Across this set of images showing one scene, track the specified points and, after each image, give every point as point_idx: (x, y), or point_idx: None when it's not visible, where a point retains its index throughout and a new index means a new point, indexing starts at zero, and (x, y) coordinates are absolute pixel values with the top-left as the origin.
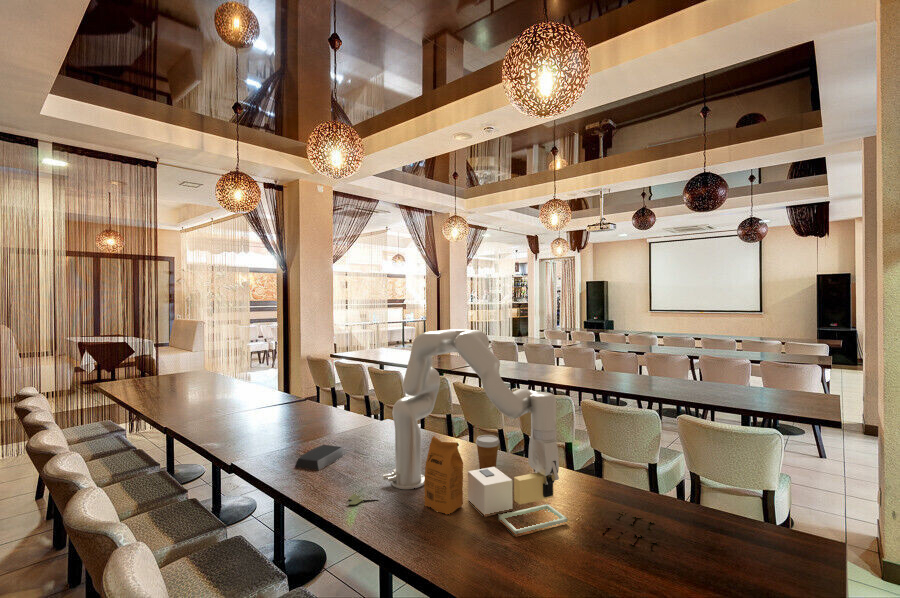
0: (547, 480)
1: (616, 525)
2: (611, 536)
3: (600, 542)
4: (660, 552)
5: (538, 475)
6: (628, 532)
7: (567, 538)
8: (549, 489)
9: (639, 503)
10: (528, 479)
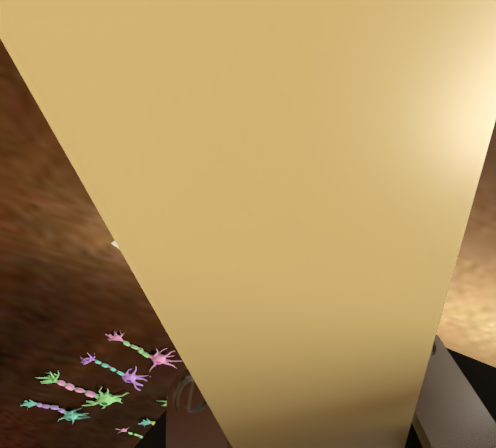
0: (174, 443)
1: (172, 374)
2: (104, 349)
3: (59, 314)
4: (23, 410)
5: (290, 432)
6: (129, 385)
7: (78, 223)
8: None
9: None
10: (117, 223)
